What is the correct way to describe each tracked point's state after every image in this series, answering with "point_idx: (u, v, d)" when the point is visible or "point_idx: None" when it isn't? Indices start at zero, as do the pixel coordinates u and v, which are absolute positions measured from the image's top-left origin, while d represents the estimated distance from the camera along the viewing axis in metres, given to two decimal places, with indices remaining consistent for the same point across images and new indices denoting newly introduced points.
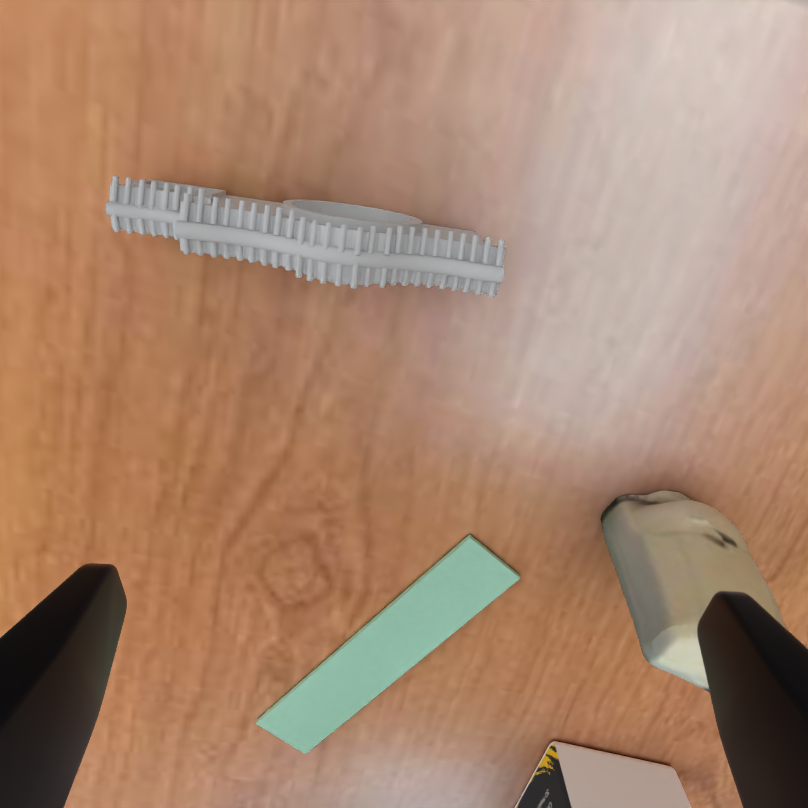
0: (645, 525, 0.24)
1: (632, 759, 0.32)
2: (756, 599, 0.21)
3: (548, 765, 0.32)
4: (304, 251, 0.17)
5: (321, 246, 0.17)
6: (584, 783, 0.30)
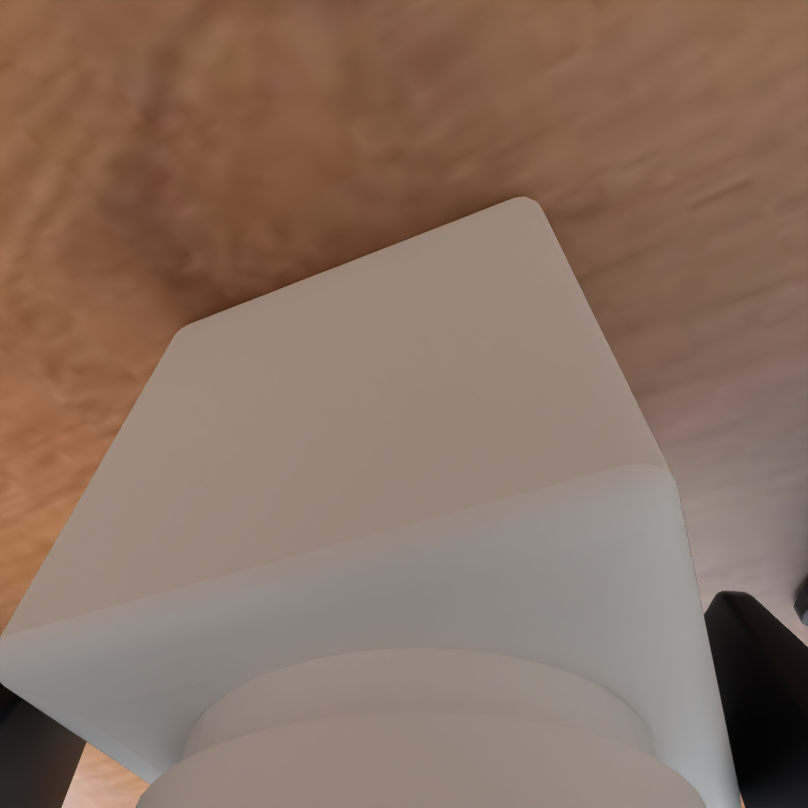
0: None
1: None
2: None
3: None
4: None
5: None
6: None
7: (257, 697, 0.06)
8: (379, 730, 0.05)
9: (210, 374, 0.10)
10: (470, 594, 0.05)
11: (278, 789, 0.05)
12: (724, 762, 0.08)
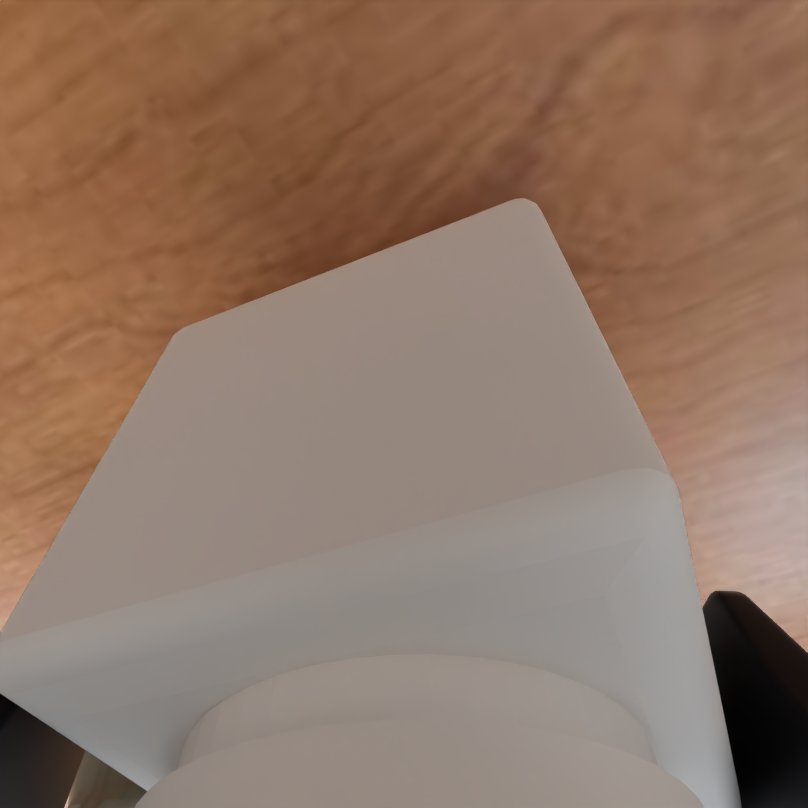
0: None
1: None
2: None
3: None
4: None
5: None
6: None
7: (254, 704, 0.06)
8: (377, 738, 0.05)
9: (208, 376, 0.10)
10: (468, 600, 0.05)
11: (273, 798, 0.05)
12: (725, 768, 0.08)
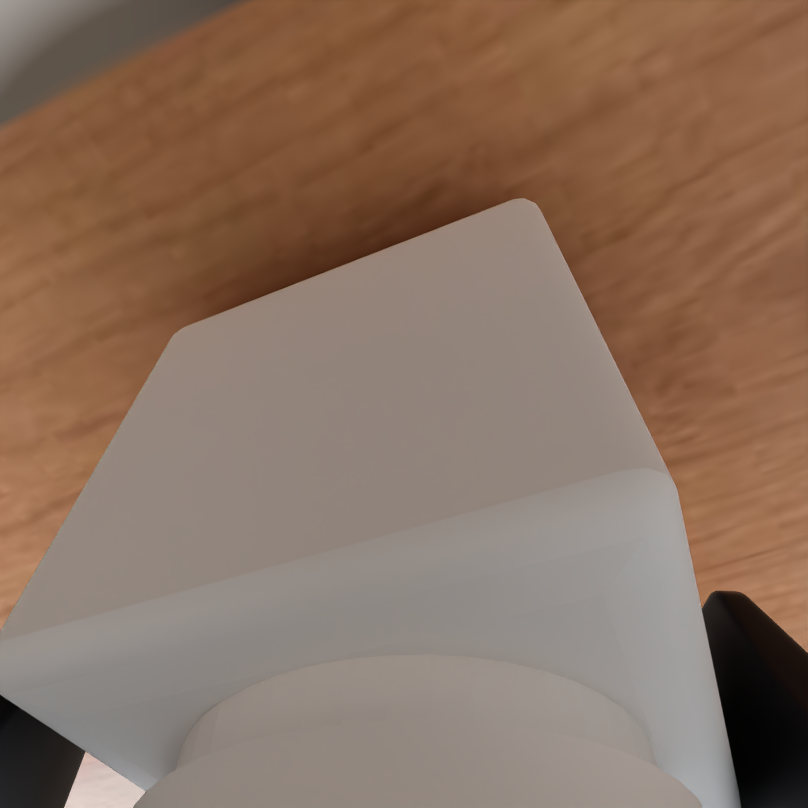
0: None
1: None
2: None
3: None
4: None
5: None
6: None
7: (253, 704, 0.06)
8: (376, 739, 0.05)
9: (207, 376, 0.10)
10: (467, 601, 0.05)
11: (272, 799, 0.05)
12: (724, 768, 0.08)
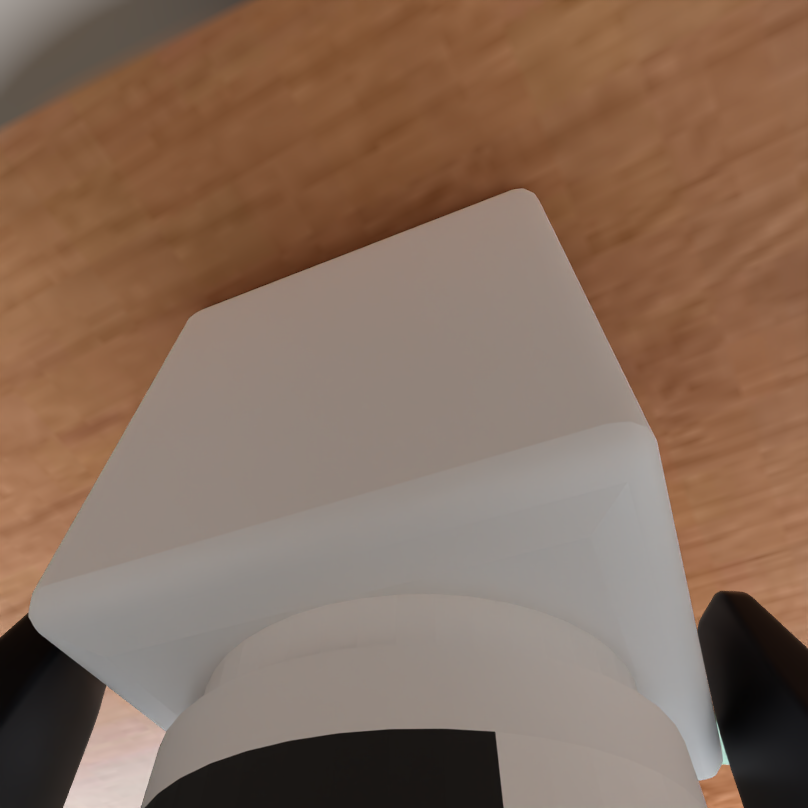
0: None
1: None
2: None
3: None
4: None
5: None
6: None
7: (274, 639, 0.06)
8: (388, 658, 0.05)
9: (225, 353, 0.10)
10: (469, 542, 0.06)
11: (297, 709, 0.05)
12: (705, 713, 0.08)
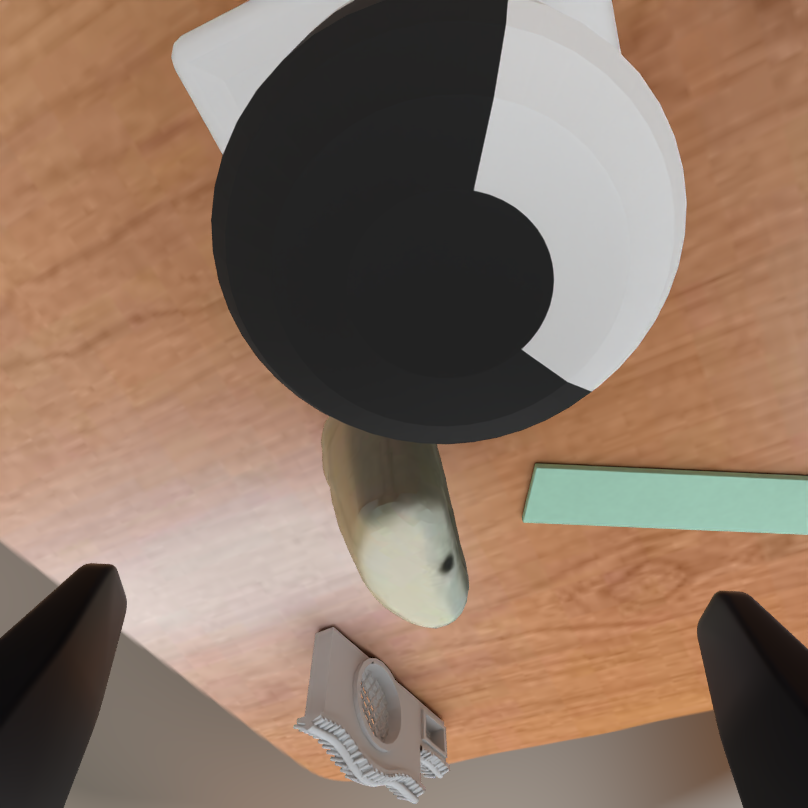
0: None
1: None
2: (342, 535, 0.19)
3: None
4: (377, 785, 0.30)
5: (368, 784, 0.30)
6: None
7: None
8: None
9: None
10: None
11: None
12: None
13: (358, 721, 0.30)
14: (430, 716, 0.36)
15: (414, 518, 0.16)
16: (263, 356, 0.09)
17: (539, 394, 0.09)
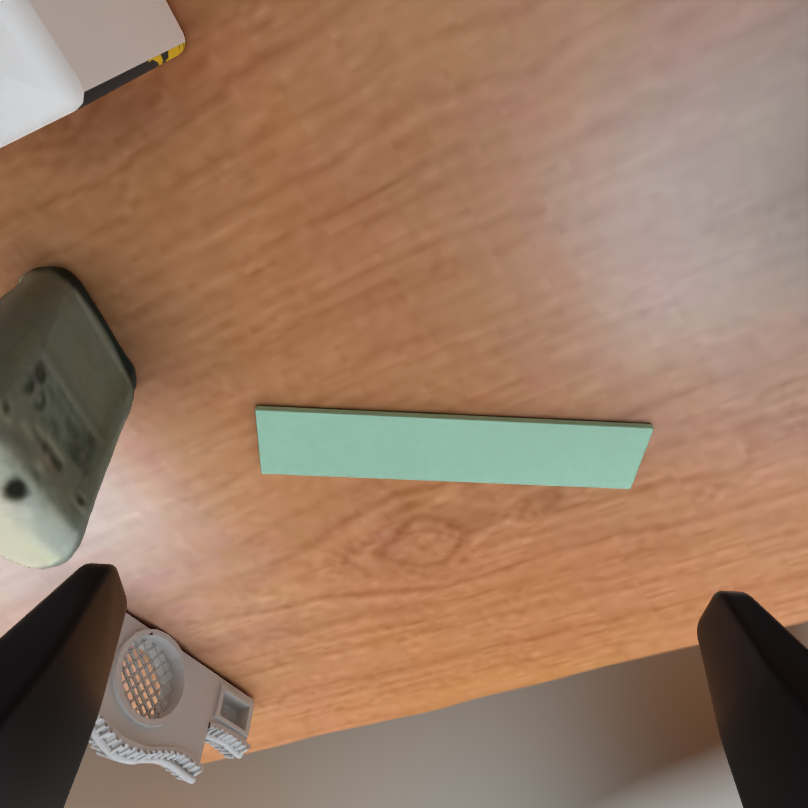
0: None
1: None
2: None
3: None
4: (134, 762, 0.28)
5: None
6: None
7: None
8: None
9: None
10: None
11: None
12: None
13: (114, 694, 0.28)
14: (232, 693, 0.34)
15: None
16: None
17: None
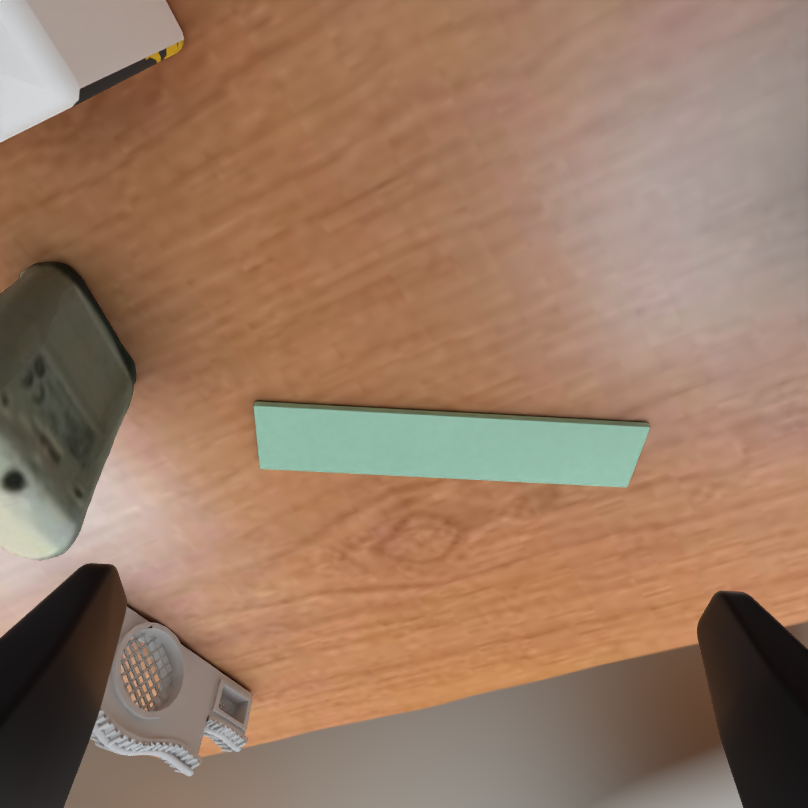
0: None
1: None
2: None
3: None
4: (133, 754, 0.28)
5: None
6: None
7: None
8: None
9: None
10: None
11: None
12: None
13: (113, 686, 0.28)
14: (230, 687, 0.34)
15: None
16: None
17: None
